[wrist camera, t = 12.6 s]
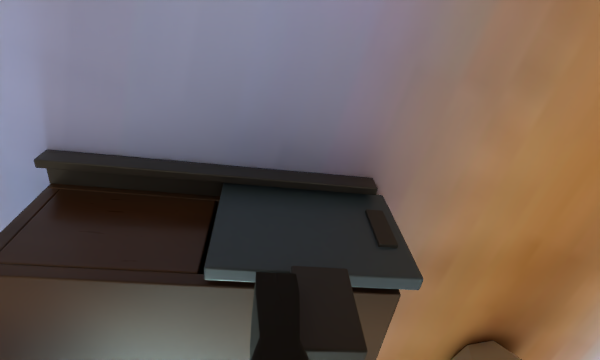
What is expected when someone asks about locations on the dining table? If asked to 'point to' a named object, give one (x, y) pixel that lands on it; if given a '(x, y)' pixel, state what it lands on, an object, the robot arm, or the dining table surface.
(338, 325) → the door
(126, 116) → the dining table surface
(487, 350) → the salt shaker
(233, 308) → the cabinet
